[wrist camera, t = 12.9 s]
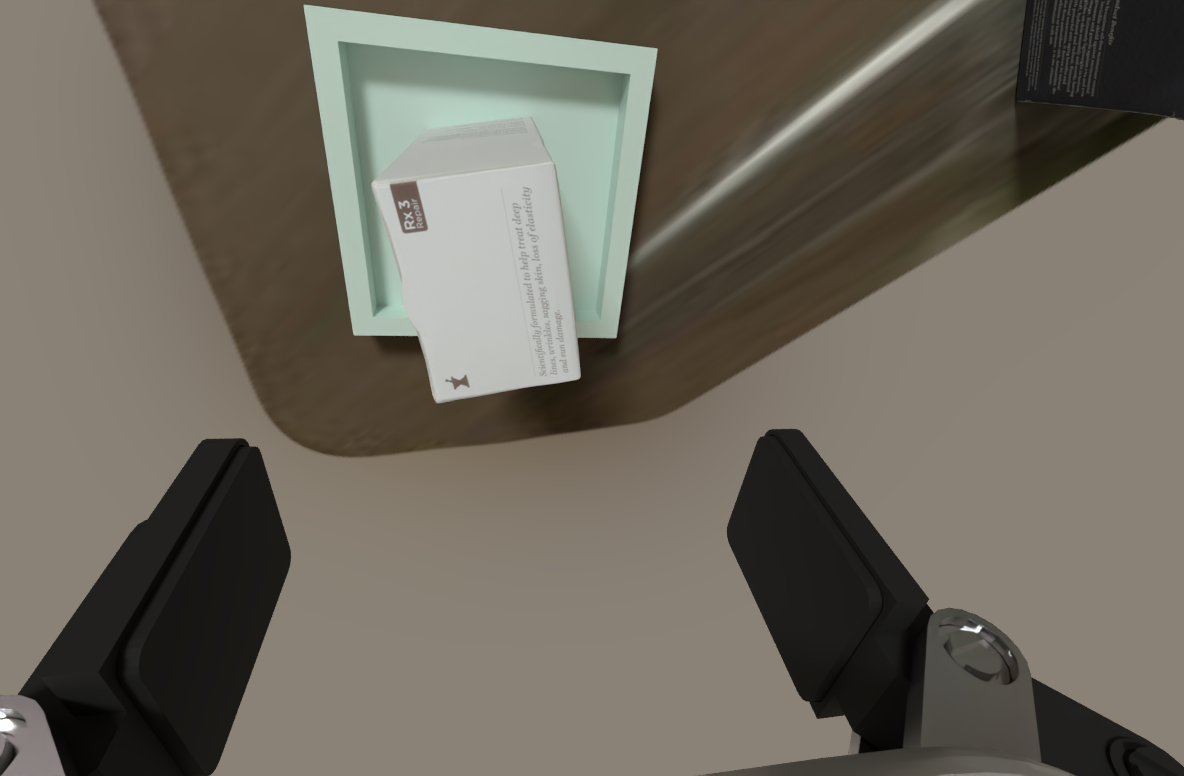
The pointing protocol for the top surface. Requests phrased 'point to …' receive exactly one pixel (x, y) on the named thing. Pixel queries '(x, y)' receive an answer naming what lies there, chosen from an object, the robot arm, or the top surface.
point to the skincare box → (482, 257)
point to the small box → (1104, 55)
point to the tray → (468, 95)
